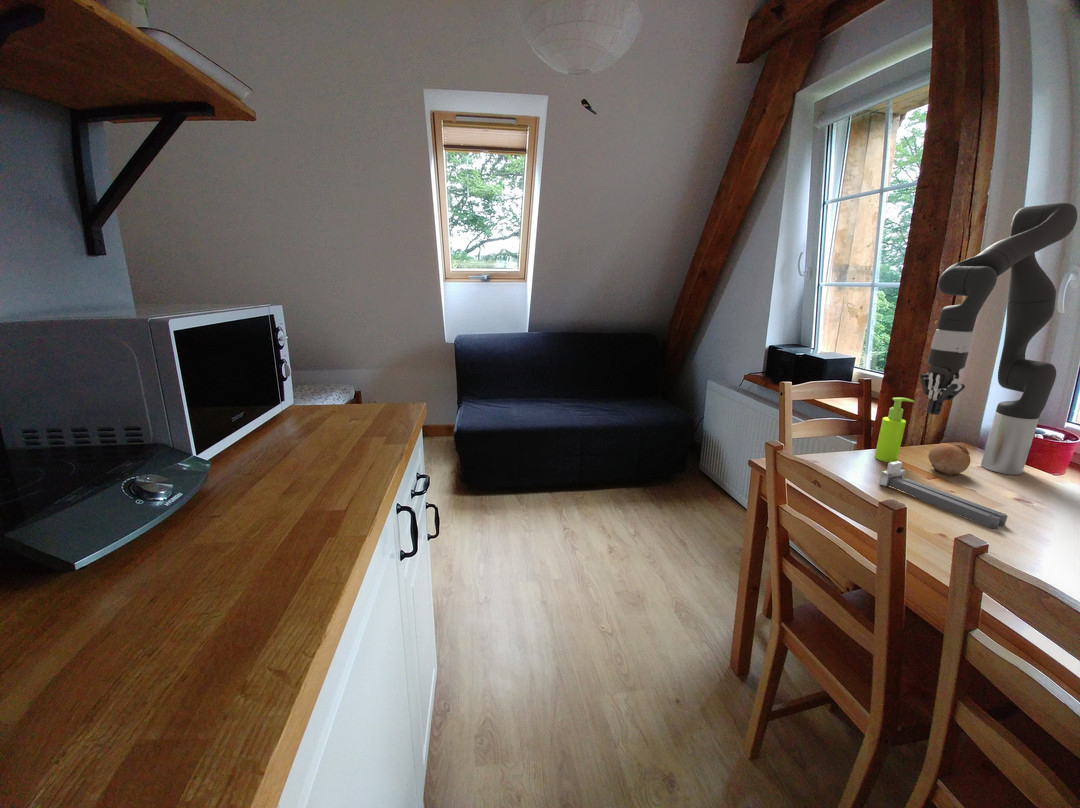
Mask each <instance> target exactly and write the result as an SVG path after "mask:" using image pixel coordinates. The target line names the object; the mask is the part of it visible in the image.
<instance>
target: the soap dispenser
mask: <svg viewBox="0 0 1080 808" xmlns="http://www.w3.org/2000/svg"><path fill="white" fill-rule="evenodd" d="M891 399H892V401H893V402H894V404H893V406H892V407H889V411H888V416H884V417H882V419H881V426H880V430H879V435H878V440H877V444H876V448H875V454H874V458H875V459H877V460H879V461H881V462H885V463H890V462H895V461H898V458H899V454H900V449H901V445H902V441H903V437H904V432H905V427H906V424H907V421H906V420H905V419H903V418H902V417H903V414H904V409H903V408H901V407H902V403H903V402H910V403H914V402H916V401H915V400H913V399H912V398H911V399H910V398H907V397H892V398H891Z"/></svg>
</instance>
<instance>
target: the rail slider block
mask: <svg viewBox="0 0 1080 808" xmlns="http://www.w3.org/2000/svg"><path fill="white" fill-rule="evenodd" d="M902 465H903V462H902V461H899V460H897V461H895V462H887V468H886V470H881V473H880V476H879V477H880V478H879V482H878V484H879V485H881V486H884V487H886V486H887V487H888V484H889V480H890V478H892V477H896V476H901V480H903V479H905V474H906V469H902V467H903V466H902Z"/></svg>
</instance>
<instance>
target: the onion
mask: <svg viewBox="0 0 1080 808" xmlns="http://www.w3.org/2000/svg"><path fill="white" fill-rule="evenodd" d="M970 454H971V453H970V451H969V450H968V448H967V447H966V446H965V445H963V444H961V443H949V442H942V443H937V444H935V445H934V446H933V447H932V448H931V449H930V451H929V452H928V459H929V463H931V467H933V469H934V470H935V472H940V473H943V474H944V475H949V476H950V475H951V476H952V475H959V474H961V473H962V472H965V471H966V470H967V469H968V468H969V466H970V464H971V456H970Z"/></svg>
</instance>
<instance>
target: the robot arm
mask: <svg viewBox="0 0 1080 808" xmlns="http://www.w3.org/2000/svg"><path fill="white" fill-rule="evenodd" d="M1077 221H1078V210H1077V208H1076V206H1075V205H1074V204H1072V203H1070V202H1069V203H1068V202H1058V203H1057V202H1056V203H1049V204H1042V205H1041V204H1040V205H1038V204H1037V205H1032V206H1024V207H1022V208H1018V210H1017V211H1016V212H1015V214H1014V215H1013V217H1012V220H1011V223H1010V229H1009V230H1010V232H1009V237H1006V238H1002V239H1001V240H999V241H997V242H995V243H993V244H991V245H989V246H988V247H986V248H985V249H984V250H982V251H981V252H980V253H978V254H977V255H975V256H972V257H969V258H967V259H963V260H961V261H959V262H956V263H954V264H952V265H951V266H949V267H948V268H946V269H945V270H944V271H943V272H942V274H941V275H940V276H939V278H938V284H937V285H938V289H939V290H940V292H941V293H942V294H945V295H949V296H959V297H966V298H965V299H964V300H963V302H961V303H960V304H954V305H946V306H943V308H942V309H941V311H940V314H939V318H938V322H937V326H936V330H935V333H934V335H933V337H932V340H931V345H930V349H929V352H928V357H927V362H926V364H927V365H928V366H929V368H928V371H927V372H926V373H925V374H924V373H921V374H920V375H919V378H920V379H919V380H920V383H921V387H922V391H923V393H924V395H925V396H927V397H928V399H929V400H928V405H927V408H926V409H927V410H926V413H928V414H930V415H940V413H941V412H942V407H943V404H944V402H945V401H952V400H953V399H954V398H955V397H956V396H957V395H959V393H961V392H962V391H963V390H964V389H965V388H966V385H965V384H964V383H960V380H959V378H960V370H962V369H965V367H966V364H967V361H968V356H969V352H970V350H971V345H972V341H973V332H974V328H975V325H976V320H977V318H978V315H979V313H980V311H981V309H982V307H983V305H984V304H985V302H986V301H987V299H988V297H989V296H990V295H991V293H992V291H993V290H994V288H995V287H996V285H997V280H998V277H1000V276H1001V275H1002V274H1004V273H1005V272H1006V271H1008V270H1009V269H1010V276H1009V286H1008V287H1009V288H1008V292H1007V293H1008V295H1007V301H1006V304H1007V305H1006V321H1005V323H1006V324H1005V330H1004V333H1005V334H1004V340H1003V345H1002V346H1003V347H1002V350H1001V351H1002V352H1001V356H1000V360H999V364H998V365H999V366H998V369H997V370H998V371H997V383H998V385H999V386H1000V387H1001V388H1003V389H1007V390H1012V391H1015V392H1021V393H1022V395H1021V397H1020V399H1017V400H1006V401H1000V402H999V403H997V406H996V409H995V412H994V415H993V419H992V423H991V428H990V430H989V433H988V438H987V441H986V445H985V448H984V453H983V456H982V459H981V462H980V465H981V467H982V468H984V469H986V470H989V471H993V472H995V473H1000V474H1004V475H1011V476H1012V475H1013V476H1020V475H1022V474H1023V472H1024V468H1025V465H1026V462H1027V459H1028V456H1029V452H1030V449H1031V446H1032V443H1033V439H1034V437H1035V433H1036V430H1037V426H1038V422H1039V419H1040V417H1041V414H1042V412H1043V410H1044V409H1045V408H1046V405H1047V403H1048V400H1049V397H1050V395H1051V391H1052V389H1053V388H1054V384H1055V382H1056V378H1057V369H1056V367H1055V365H1054V364H1052V363H1050V362H1045V361H1038V360H1034V359H1033V360H1031V359H1026V351H1027V349H1028V345H1029V343H1030V342H1031V340H1032V339H1033V337H1035V335H1037V333H1038V332H1040V331H1041V330H1042V329H1043V328H1044V327H1045V326H1046V325H1047V324H1048V323H1049V321H1050V320H1051V319H1052V317H1053V315H1054V313H1055V308H1056V307H1055V306H1056V298H1057V289H1056V286H1055V285H1054V283H1053V281H1052V280H1051V279H1050V277H1049V276H1048V275H1047V273H1046V272H1045V271H1044V270H1043V269H1042V267H1041V265H1040V264H1039V262H1038V260H1037V258H1036V252H1039V251H1041V250H1042V249H1044V248H1047V247H1049V246H1051V245H1053V244H1056V243H1057V242H1059V241H1061V240H1063V239H1065V238H1067V236H1069V235H1070V234H1071V232H1072V231H1073V230H1074V228H1075V226H1076V224H1077Z"/></svg>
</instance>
